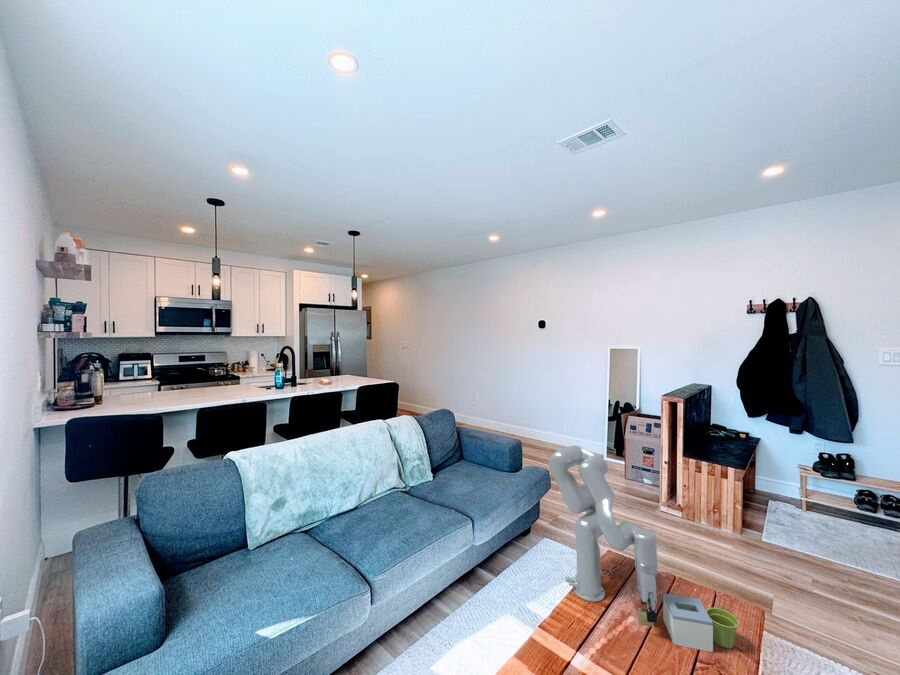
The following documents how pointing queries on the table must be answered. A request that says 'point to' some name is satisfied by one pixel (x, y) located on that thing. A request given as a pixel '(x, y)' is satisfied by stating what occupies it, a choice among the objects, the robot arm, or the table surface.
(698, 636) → the grey slotted box
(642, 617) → the block
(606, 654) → the table surface
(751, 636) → the table surface
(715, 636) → the plant pot
